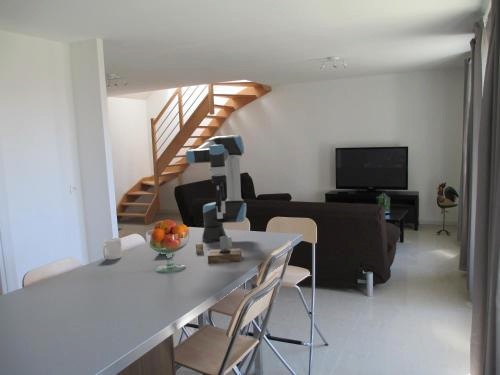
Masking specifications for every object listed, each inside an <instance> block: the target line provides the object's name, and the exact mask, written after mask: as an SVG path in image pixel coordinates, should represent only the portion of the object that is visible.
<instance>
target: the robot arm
mask: <svg viewBox="0 0 500 375" xmlns="http://www.w3.org/2000/svg"><path fill="white" fill-rule="evenodd" d="M243 141H244V140H243V139H242V136H241V135H236V134H231V135H221V136H220V135H219V136H213V137H210V138H208V139H205V140H204V141H203V142H202V143H201V145H199V146H198V147H197V148H194V149H188V150H186V152H185V158H186V162H187V163H188V164H193V165H194V164H204V163H205V164H207V163H209V164H210V168H209V171H210V174H211V175H212V176H211V177H210V178H211V183H212V184H216V185H215V188H214V189H215V201H214V202H209V203H206V204H204V205H203V206H202V214H203V215H202V216H203V233H202V235H201V236H202V237H201V238H202V239H201V241H202V242H204V243H219V242H220V236H227V234H226V231H225V228H224V225H223V224H229V223H243V222H244V221H245V220H246V216H247V203H246V202H245V201H244V199H243V198H242V192H241V190H242V187H241V163H240V160H241V158H242V157H243V155H244V154H245V147H244V142H243ZM224 183H226V196H225V190H224V189H225V188H224V187H225V186H224Z"/></svg>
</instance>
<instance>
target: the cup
mask: <svg viewBox="0 0 500 375" xmlns="http://www.w3.org/2000/svg"><path fill="white" fill-rule="evenodd" d="M121 239H122V238H119V237H113V238H108V239H105V240H104V244H103V247H102V255H103V257H104V258H106V259H107V260H108V261H109V260H111V261H113V260H117V259H121V258H122V257H123V250H122V249H123V248H122V240H121Z"/></svg>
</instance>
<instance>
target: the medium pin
mask: <svg viewBox="0 0 500 375" xmlns="http://www.w3.org/2000/svg"><path fill="white" fill-rule="evenodd" d="M227 236H228V235H227ZM228 248H229V249H233V244H232V236H228Z"/></svg>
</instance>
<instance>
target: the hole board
mask: <svg viewBox="0 0 500 375" xmlns="http://www.w3.org/2000/svg"><path fill="white" fill-rule="evenodd" d="M242 256H243V253H242V248H232V249H229V253H224V254H221V248H219V249H218V248H217V249H210V251H209V253H208V254H207V265H208V264H209V265H210V264H212V265H213V264H233V263H235V264H236V263H237V264H238V263H241V261H242Z"/></svg>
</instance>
